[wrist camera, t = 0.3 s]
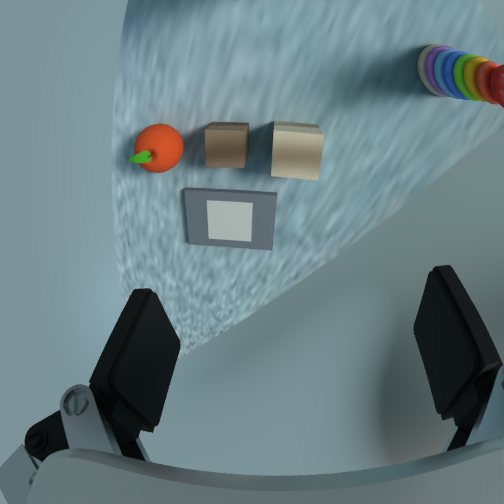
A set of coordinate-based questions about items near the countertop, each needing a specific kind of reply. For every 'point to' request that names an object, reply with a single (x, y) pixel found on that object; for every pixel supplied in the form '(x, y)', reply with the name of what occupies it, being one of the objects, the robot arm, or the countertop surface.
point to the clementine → (158, 148)
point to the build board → (230, 218)
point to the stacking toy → (461, 75)
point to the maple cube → (296, 150)
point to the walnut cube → (226, 144)
